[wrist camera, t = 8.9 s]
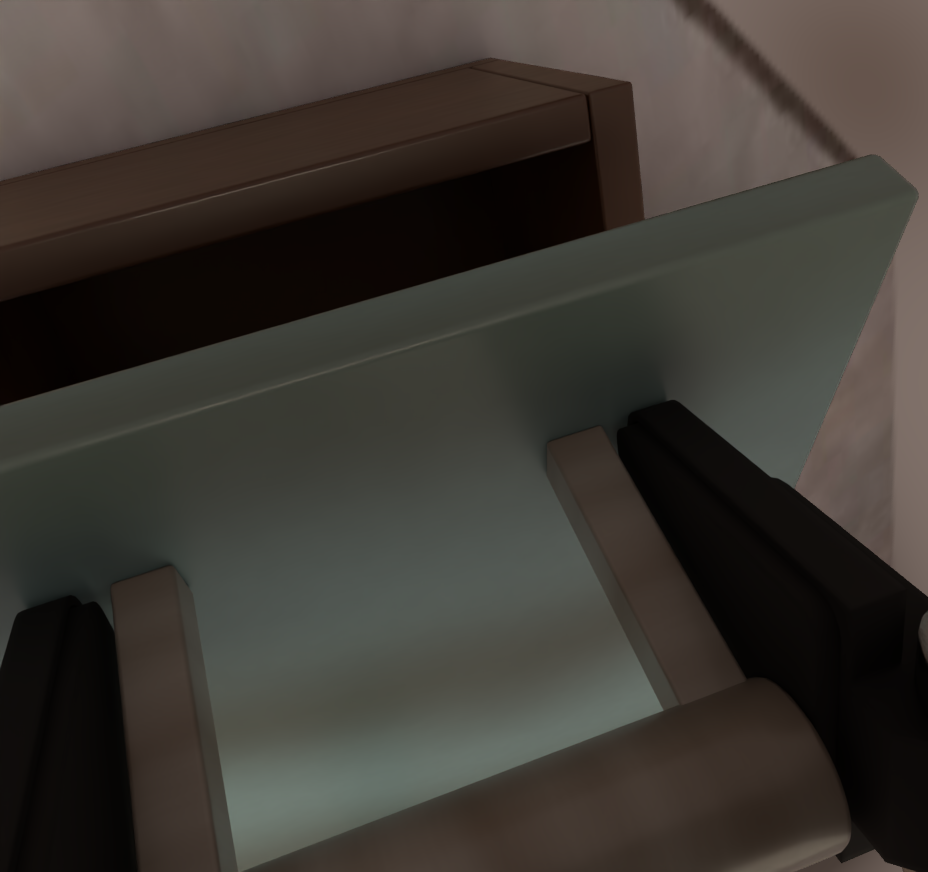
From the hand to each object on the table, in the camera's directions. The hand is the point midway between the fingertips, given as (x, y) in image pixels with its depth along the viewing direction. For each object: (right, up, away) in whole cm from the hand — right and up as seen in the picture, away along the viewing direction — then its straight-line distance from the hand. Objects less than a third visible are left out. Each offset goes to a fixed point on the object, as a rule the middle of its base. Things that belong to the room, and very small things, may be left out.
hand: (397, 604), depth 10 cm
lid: (0, -1, +4) cm, 4 cm away
